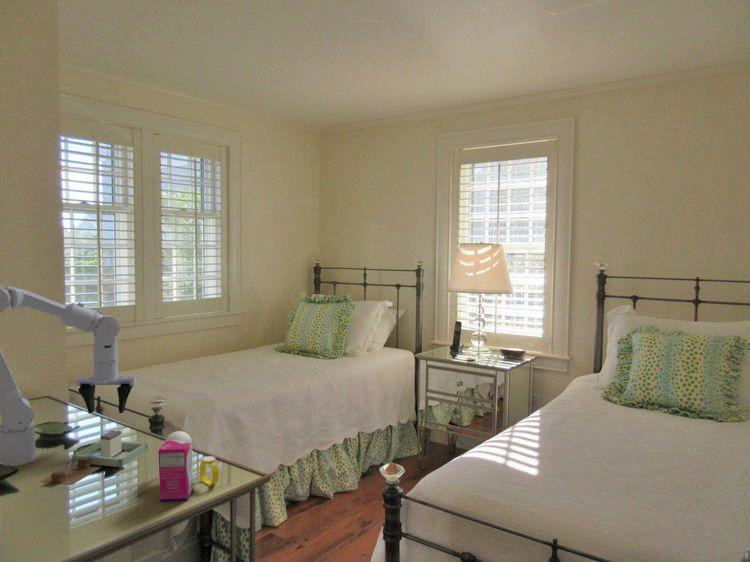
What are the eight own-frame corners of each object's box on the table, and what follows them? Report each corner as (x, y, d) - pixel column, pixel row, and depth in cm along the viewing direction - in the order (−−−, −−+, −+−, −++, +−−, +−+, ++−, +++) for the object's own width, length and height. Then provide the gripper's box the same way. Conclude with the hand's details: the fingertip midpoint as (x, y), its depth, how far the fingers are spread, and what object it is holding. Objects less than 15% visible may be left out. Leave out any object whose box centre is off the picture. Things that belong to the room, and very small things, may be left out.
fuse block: (39, 485, 124) (39, 472, 124) (71, 467, 134) (71, 456, 134) (71, 488, 123) (71, 476, 122) (101, 470, 132) (101, 458, 132)
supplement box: (166, 490, 123) (165, 439, 122) (193, 489, 123) (193, 438, 122) (158, 502, 117) (157, 449, 116) (187, 501, 118) (187, 448, 117)
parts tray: (72, 465, 135) (72, 455, 135) (101, 449, 146) (101, 439, 146) (121, 470, 133) (121, 459, 133) (147, 453, 144) (147, 443, 143)
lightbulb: (183, 485, 125) (183, 437, 124) (158, 482, 126) (158, 435, 126) (197, 474, 131) (197, 428, 130) (173, 471, 132) (173, 426, 132)
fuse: (100, 459, 137) (100, 436, 137) (112, 453, 142) (111, 430, 141) (110, 460, 137) (110, 436, 136) (121, 454, 141) (121, 430, 141)
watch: (221, 486, 126) (222, 461, 125) (210, 490, 123) (211, 465, 123) (207, 477, 130) (208, 452, 129) (196, 480, 128) (197, 455, 127)
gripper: (69, 364, 141) (70, 417, 142) (129, 364, 142) (130, 416, 143) (81, 358, 148) (82, 408, 149) (138, 358, 149) (139, 408, 150)
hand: (106, 412), depth 146 cm, fingers open, 7 cm apart
